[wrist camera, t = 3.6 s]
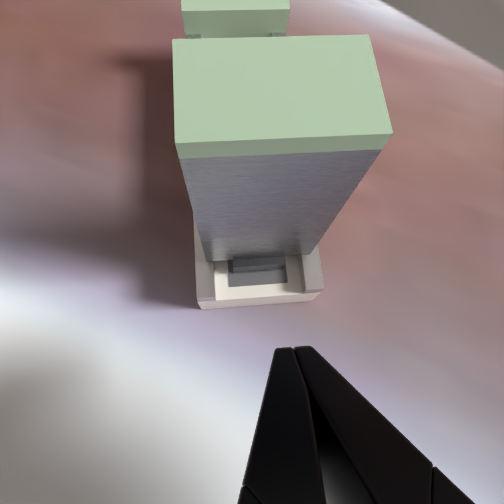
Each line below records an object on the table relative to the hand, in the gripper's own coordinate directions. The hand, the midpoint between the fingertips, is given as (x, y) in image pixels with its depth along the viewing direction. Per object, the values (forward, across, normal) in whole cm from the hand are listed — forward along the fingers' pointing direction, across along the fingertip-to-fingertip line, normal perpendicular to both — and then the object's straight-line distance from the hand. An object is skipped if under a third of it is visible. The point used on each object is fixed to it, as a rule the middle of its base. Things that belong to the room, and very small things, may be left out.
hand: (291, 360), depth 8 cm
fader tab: (+7, 0, 0) cm, 7 cm away
